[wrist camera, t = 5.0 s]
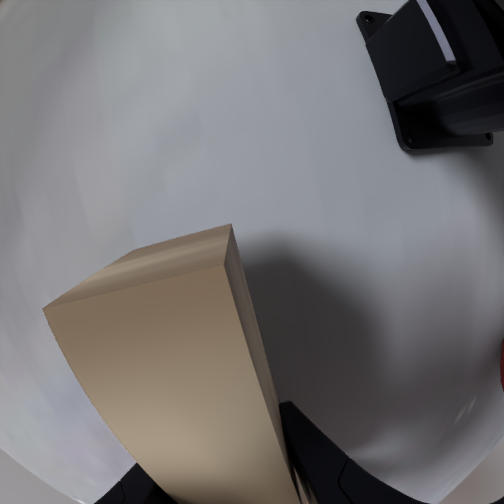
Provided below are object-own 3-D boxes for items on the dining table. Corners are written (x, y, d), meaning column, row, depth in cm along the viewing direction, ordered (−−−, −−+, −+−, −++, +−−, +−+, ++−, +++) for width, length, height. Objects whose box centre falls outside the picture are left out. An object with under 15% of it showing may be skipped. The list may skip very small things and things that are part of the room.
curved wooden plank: (298, 469, 10) (315, 541, 6) (239, 479, 10) (242, 551, 6) (231, 223, 8) (224, 264, 3) (133, 249, 8) (41, 308, 3)
